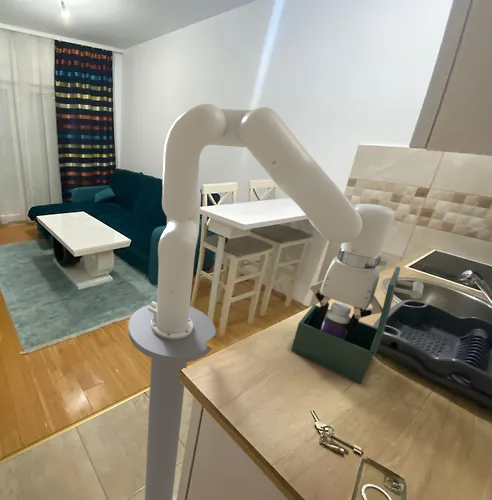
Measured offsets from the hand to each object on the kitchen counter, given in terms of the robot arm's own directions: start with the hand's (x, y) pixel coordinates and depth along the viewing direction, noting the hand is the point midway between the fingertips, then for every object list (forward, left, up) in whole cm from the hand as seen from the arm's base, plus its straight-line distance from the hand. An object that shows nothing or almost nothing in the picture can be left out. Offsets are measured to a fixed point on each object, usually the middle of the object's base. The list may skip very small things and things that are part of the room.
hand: (335, 322), depth 73 cm
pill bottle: (0, 0, -5) cm, 5 cm away
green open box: (+1, 0, -9) cm, 9 cm away
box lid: (+8, 0, +8) cm, 11 cm away
